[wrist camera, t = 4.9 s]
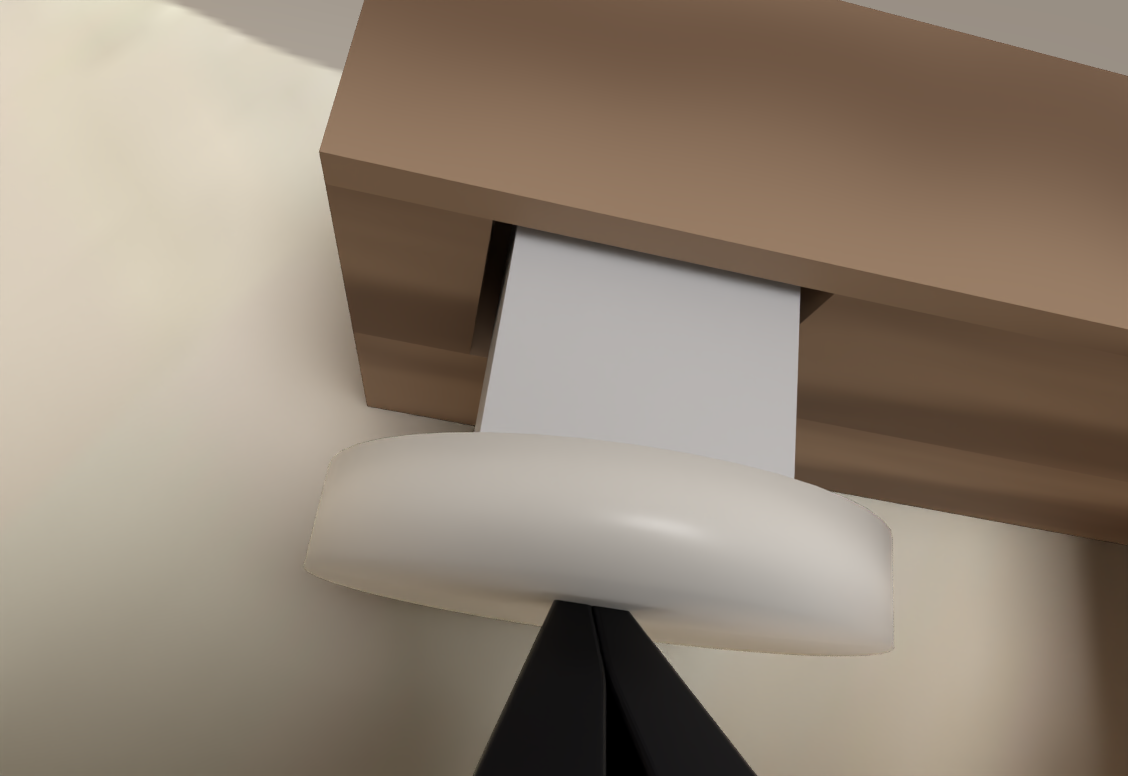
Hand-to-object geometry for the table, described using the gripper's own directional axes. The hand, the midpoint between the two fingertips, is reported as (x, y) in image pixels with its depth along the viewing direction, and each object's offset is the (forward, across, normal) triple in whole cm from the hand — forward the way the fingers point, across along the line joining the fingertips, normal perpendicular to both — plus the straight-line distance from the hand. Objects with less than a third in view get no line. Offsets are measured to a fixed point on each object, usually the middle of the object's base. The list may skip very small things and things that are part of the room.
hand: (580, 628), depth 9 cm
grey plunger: (+6, 0, -1) cm, 6 cm away
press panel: (+9, -7, 0) cm, 12 cm away
